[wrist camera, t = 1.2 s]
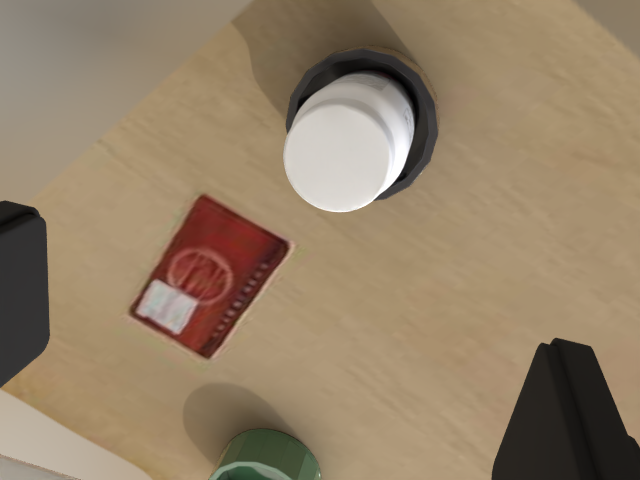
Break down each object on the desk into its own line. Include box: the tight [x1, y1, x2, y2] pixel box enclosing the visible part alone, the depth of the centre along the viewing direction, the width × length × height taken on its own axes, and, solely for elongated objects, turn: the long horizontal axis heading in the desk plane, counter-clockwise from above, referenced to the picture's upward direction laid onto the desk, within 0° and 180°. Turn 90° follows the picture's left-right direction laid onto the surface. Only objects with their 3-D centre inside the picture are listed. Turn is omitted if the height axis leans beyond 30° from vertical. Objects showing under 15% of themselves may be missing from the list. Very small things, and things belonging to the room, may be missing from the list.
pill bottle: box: [283, 70, 416, 212], centre depth 24 cm, size 5×5×8 cm
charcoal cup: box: [286, 45, 439, 201], centre depth 27 cm, size 7×7×3 cm
